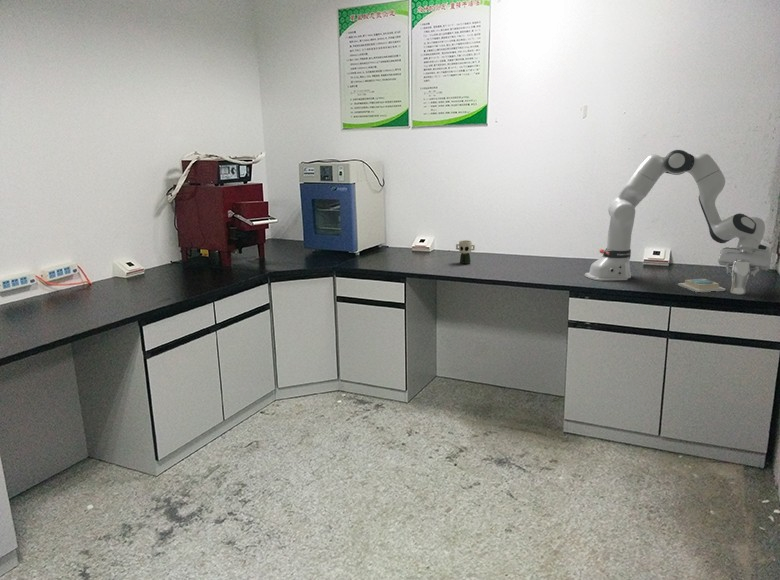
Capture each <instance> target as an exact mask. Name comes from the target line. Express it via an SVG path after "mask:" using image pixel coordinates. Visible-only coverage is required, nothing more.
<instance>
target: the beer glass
mask: <svg viewBox="0 0 780 580" xmlns="http://www.w3.org/2000/svg"><path fill="white" fill-rule="evenodd" d="M741 260H744V261H747V262H738V261H741ZM750 263H751V261H749V260H745V259H734V261H733V265H732V266H731V287H730V290H729V293H730V294H732V295H736V296H737V295H738V296H739V295H740V296H742V295H746V292H747V291H746V285H747V281H748V280H749V277H750V274H751V269H750Z"/></svg>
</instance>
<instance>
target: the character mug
mask: <svg viewBox="0 0 780 580" xmlns="http://www.w3.org/2000/svg"><path fill="white" fill-rule="evenodd" d="M472 242H473V241H472V240H467V239H466V240H460V241H459V242H458V243H456V244H455V248H456V249H455V250H458V251H459V253H461V254H460V258H459V264H465V265H468V264H470V263H471V254H470V253H471V252H472V251H475V249H476V248H475V245H476V244H472Z"/></svg>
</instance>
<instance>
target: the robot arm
mask: <svg viewBox="0 0 780 580" xmlns="http://www.w3.org/2000/svg"><path fill="white" fill-rule="evenodd" d="M685 173H688V174H690V175H691V176H692V177H693V179H694V181H695V182H696V185H697V188H698V193H699V195H698V202H699V205H700V207H701V211H702V213H703V215H704V218H705V221H706V223H707V226H708V230H709V236H710V237H711V239H712V240H713V241H715V242H716V243H719V244H726V243H727V242H730V241H731V240H733V239H735V238H738V243H737V246H736V247H729V246H727V247H723V248H721V249H720V255H719V256H718V259H717V263H718V265H719V266H723V267H725V269H726V271H725V272H726V274H728V275H729V274H731V273H732V268H730V267H732V265H733V261H734V259H745V260H749V261H751V263H750V273H749V276H750V277H755V276H756V274H758V273H759V272H760V270H761V271H762V270H763V271H768V270H769V269H771V265H772V264H771V249H770V248H771V247H769V246H768V245H764V244H761V242H762V240H763V238H764V236H765V231H766V225H765V221H764V220H763V219H762V218H761V217H757V216H751V217H750V216H748V215H746V214H744V213H736V214H733V215H731V216H729V217H727V218H725V219H723V220H722V218H721V217H720V213H719V212H718V211H719V210H718V209H717V207H716V200H717V198H718V196H719V195H720V193H721V192H722V191H723V190H724V188H725V184H726V178H725V175H724V172H722V170H721V169H720V167H719V165H718V164H717V162H716V161H715V159H713V158H712V157H711V155H710V154H708V153H700V154H697V155H693V154H691V153H689V152H687V151H685V150H683V149H674V150H672V151H670V152H669V153H667V155H666V156H660V155H658V154H650V155H648V156H647V157H646V158H645V159H644V160H643V161H642V162H641V163H640V165H639V166H638V167H637V168H636V170H635V171H634V173H632V175H631V177H630V178H629V179H628V181H627V182H626V184H625V185H624V187H623V188H622V189H621V190H620V191H619V192H618V193H617V195H616V196H615V197H614V198H613V200H612V201H611V203H610V204H609V206H608V209H607V210H608V215H609V216H610V218H609V221H610V222H609V227H608V232H607V240H606V248H605V250H604V249H602V248H600V249H599V254H602V256H601V257H600V258H598V259H597V260H595V261H593V262H592V263H591V265H590V267H589V272H585V273H584V276H585V277H586V278H588V279H590V280H593V281H628V280H629V279H631V278H632V273H631V267H630V260H631V254H632V252H631V251H632V249H631V243H632V233H633V228H634V224H635V218H636V207H638V205H639V204H640V203H641V202H642V201H643V199H645V198H646V197H647V196H648V195H649V193H650V191H651V190H652V189H653V187H654V186H655V184H656V183H657V182H658V180H659V179H660V177H661V176H663V174H670V175H675V176H678V175H679V176H680V175H683V174H685ZM738 262H747V261H744V260H741V261H738ZM751 269H754V270H753V271H751Z"/></svg>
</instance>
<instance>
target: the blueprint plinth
mask: <svg viewBox="0 0 780 580" xmlns="http://www.w3.org/2000/svg"><path fill="white" fill-rule="evenodd" d="M677 286H679V287H682V288H685V289H686V288H687V289H686V290H689V291H692V292H694V291H695V293H697V292H701V293H712V292H711V291H716V292H725V291H726V288H724V287H722V286H720V283H718V282H715V281H712V280H710V279H706V278H693V279H685V280H684V282H679V283H677Z"/></svg>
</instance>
